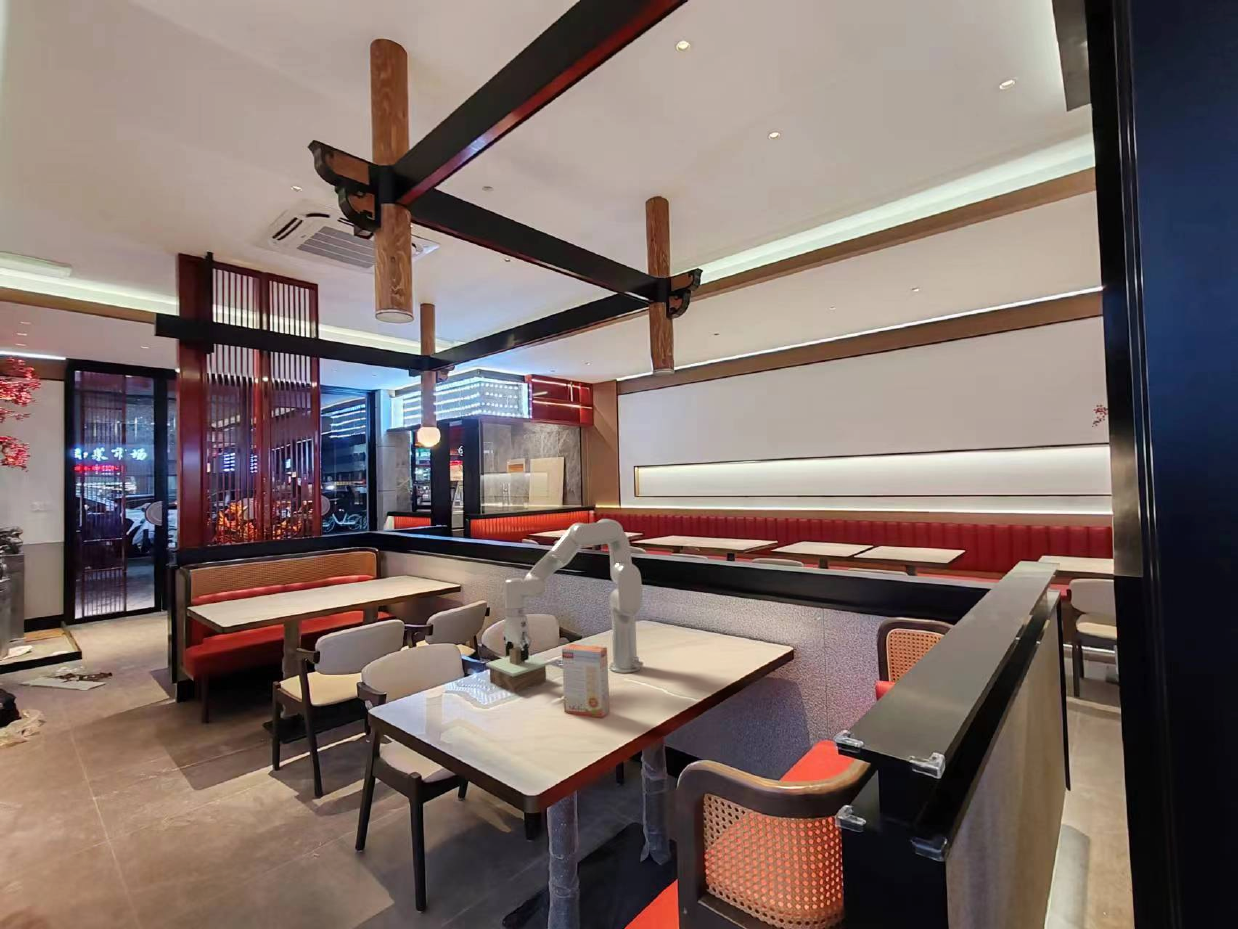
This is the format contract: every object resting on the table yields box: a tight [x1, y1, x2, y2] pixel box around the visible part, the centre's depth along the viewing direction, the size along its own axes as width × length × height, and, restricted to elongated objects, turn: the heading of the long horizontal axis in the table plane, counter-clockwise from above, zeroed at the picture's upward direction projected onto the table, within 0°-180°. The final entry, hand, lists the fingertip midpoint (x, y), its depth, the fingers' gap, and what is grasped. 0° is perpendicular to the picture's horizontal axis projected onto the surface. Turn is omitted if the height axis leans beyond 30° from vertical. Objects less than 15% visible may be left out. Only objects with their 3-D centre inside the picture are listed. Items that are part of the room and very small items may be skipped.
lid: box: [485, 646, 550, 676], centre depth 207 cm, size 18×16×7 cm
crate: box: [489, 666, 547, 694], centre depth 207 cm, size 16×14×7 cm
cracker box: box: [561, 643, 611, 719], centre depth 180 cm, size 14×6×21 cm, turn 65°
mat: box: [548, 659, 563, 670], centre depth 221 cm, size 20×18×1 cm
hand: (517, 657), depth 207 cm, fingers open, 9 cm apart
